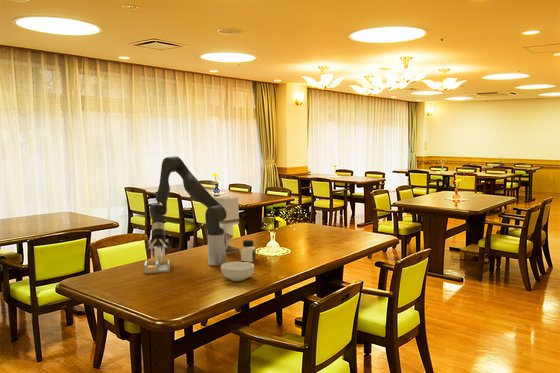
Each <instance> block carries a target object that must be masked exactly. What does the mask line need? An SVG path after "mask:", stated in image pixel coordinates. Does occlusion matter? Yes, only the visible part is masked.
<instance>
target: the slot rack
mask: <svg viewBox="0 0 560 373" xmlns="http://www.w3.org/2000/svg"><path fill="white" fill-rule="evenodd" d="M170 261H171V260H170V258H169V259H167V264H161V265H159V260H157V261H156V265H155V264H153V265H151V264H150V265H148V260H145V261H144V264H143V265H144V274H153V273H169V272H171V264H170Z"/></svg>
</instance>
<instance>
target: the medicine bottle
mask: <svg viewBox="0 0 560 373" xmlns="http://www.w3.org/2000/svg"><path fill="white" fill-rule="evenodd" d="M242 247H243V248H241V249H240V262H241V261H245V262H246V261H247V262H249V263H253V262H254V261H255V260H256V259H257V258H256V256H257V253H256V247H254V240H252V239H245V240H243V242H242Z"/></svg>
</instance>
